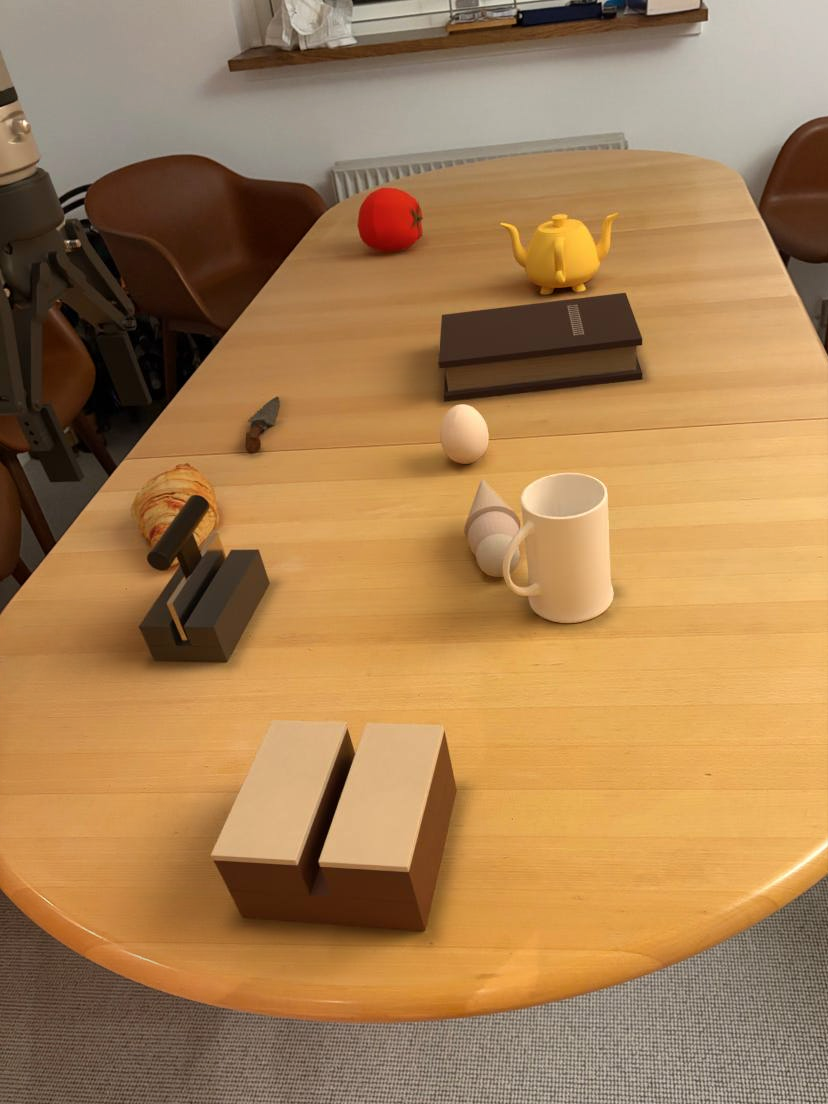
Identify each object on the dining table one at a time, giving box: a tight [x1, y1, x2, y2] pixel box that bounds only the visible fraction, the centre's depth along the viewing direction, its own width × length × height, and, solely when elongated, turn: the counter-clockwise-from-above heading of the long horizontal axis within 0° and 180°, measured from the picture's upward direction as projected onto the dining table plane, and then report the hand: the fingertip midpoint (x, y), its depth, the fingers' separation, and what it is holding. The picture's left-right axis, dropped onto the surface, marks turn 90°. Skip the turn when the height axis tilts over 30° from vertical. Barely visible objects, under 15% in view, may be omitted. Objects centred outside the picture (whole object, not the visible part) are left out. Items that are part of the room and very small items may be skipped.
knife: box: [244, 396, 280, 454], centre depth 130 cm, size 17×2×5 cm
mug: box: [503, 472, 615, 624], centre depth 87 cm, size 12×8×12 cm
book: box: [438, 292, 643, 402], centre depth 134 cm, size 28×20×6 cm
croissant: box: [130, 462, 221, 567], centre depth 110 cm, size 21×10×8 cm, turn 10°
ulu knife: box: [146, 495, 227, 643], centre depth 91 cm, size 2×12×10 cm, turn 171°
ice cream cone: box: [463, 478, 522, 578], centre depth 98 cm, size 6×6×15 cm
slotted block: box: [138, 549, 271, 663], centre depth 95 cm, size 8×13×4 cm, turn 171°
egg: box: [439, 403, 490, 465], centre depth 113 cm, size 6×6×8 cm
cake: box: [210, 719, 458, 932], centre depth 68 cm, size 14×13×8 cm
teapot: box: [500, 211, 620, 295], centre depth 155 cm, size 20×15×12 cm
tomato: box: [357, 187, 423, 253], centre depth 183 cm, size 13×13×13 cm
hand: (104, 439), depth 80 cm, fingers open, 13 cm apart
